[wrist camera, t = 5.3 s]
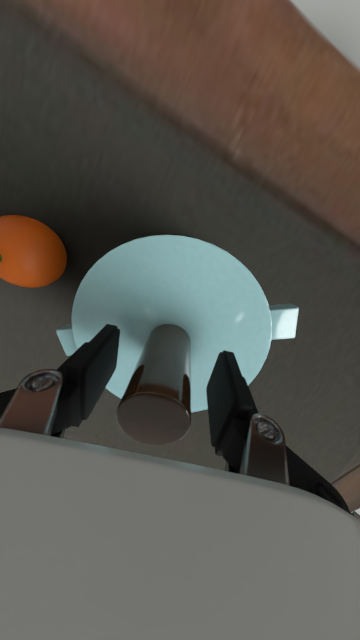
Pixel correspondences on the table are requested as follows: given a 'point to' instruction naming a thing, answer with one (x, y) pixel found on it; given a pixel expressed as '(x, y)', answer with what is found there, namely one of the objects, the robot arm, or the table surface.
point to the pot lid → (171, 327)
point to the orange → (30, 252)
